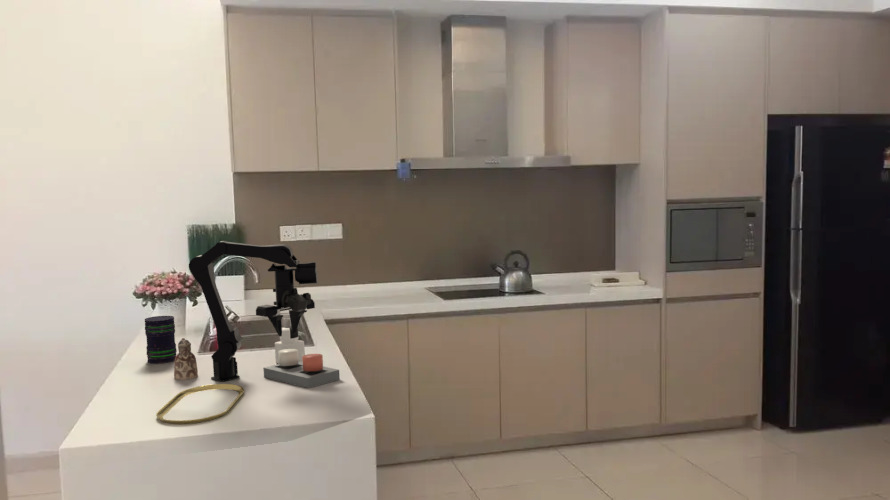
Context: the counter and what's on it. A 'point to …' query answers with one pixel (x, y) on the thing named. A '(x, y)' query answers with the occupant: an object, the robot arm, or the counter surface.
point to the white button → (288, 357)
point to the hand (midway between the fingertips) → (287, 334)
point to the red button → (312, 362)
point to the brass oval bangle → (193, 390)
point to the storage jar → (160, 339)
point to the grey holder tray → (301, 375)
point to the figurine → (185, 362)
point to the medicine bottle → (289, 343)
